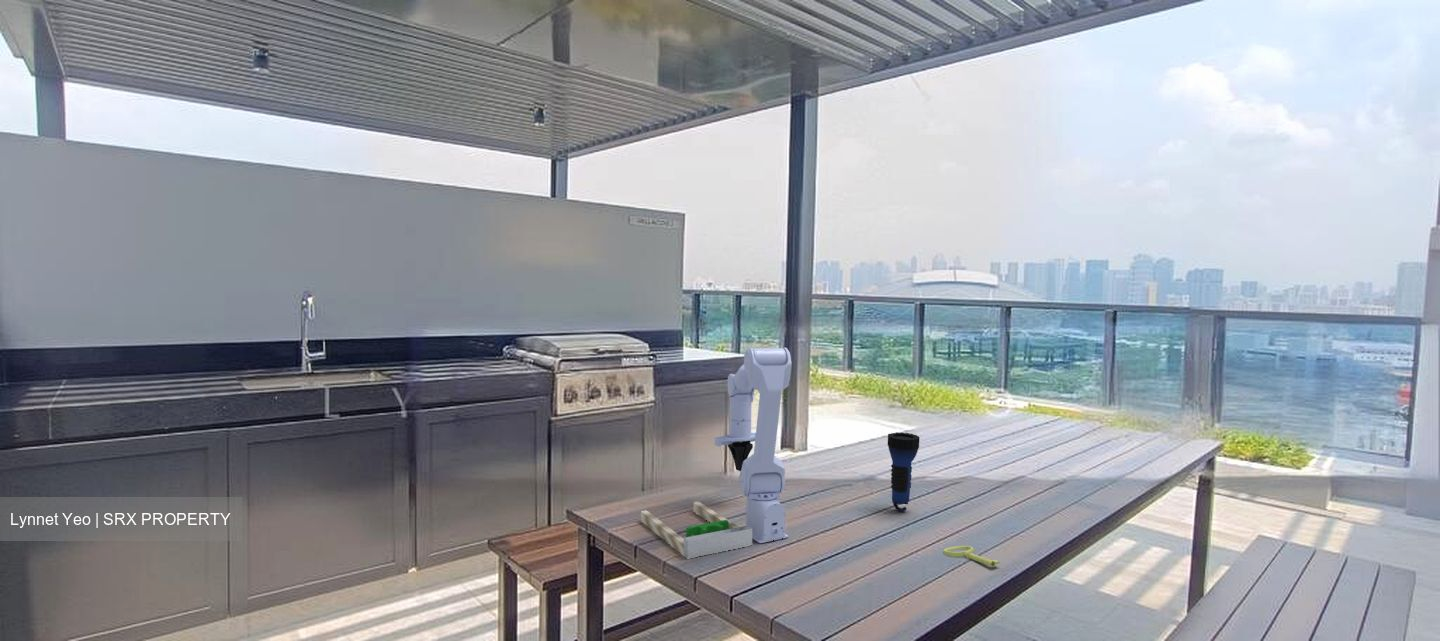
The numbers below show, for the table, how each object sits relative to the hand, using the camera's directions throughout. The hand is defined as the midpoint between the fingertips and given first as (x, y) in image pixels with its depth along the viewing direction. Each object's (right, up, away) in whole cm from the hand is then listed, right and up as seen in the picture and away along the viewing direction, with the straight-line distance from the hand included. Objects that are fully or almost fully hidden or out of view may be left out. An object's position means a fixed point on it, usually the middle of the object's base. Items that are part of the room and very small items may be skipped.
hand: (739, 469), depth 171 cm
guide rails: (-12, -10, -19) cm, 25 cm away
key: (+49, -12, -33) cm, 60 cm away
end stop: (-6, -11, -31) cm, 33 cm away
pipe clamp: (-8, -11, -26) cm, 29 cm away
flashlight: (+42, -10, -3) cm, 44 cm away
